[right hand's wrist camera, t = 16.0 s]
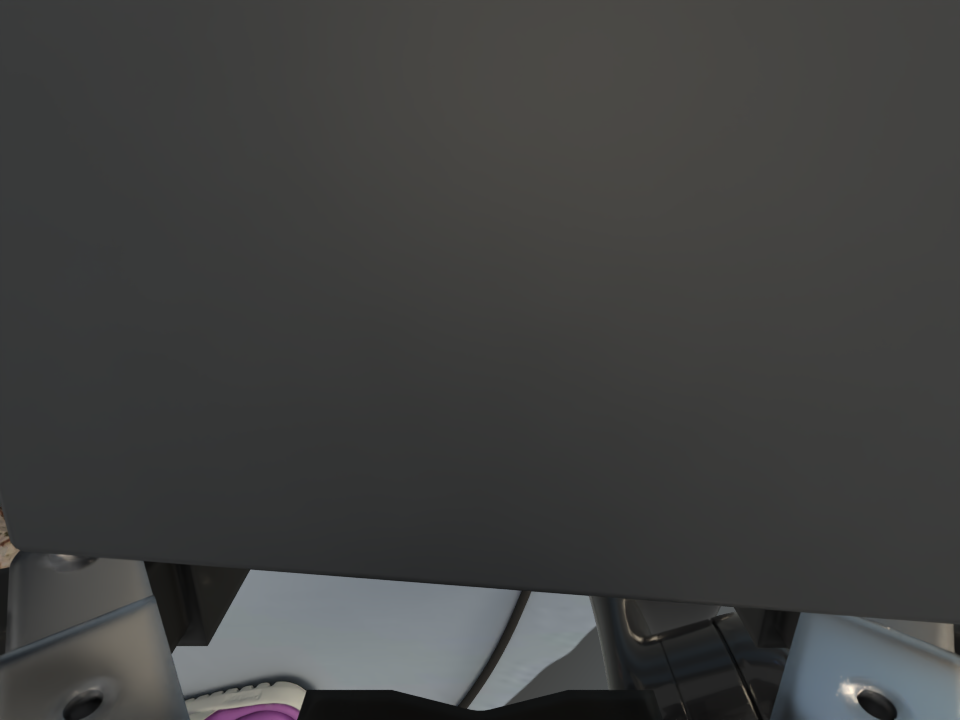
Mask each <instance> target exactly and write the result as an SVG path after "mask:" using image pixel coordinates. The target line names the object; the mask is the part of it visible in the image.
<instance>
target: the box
mask: <svg viewBox="0 0 960 720" xmlns="http://www.w3.org/2000/svg"><path fill="white" fill-rule="evenodd" d="M0 503H1V507H2V511H3V515H4V519H5V523H6V527H7V531H8V535H9V539H10V542H11V543H12V545H13V546H14V547H15V548H16V549H19V550H21V551H23V552H33V553H46V554H59V555H72V556H85V557H97V558H110V559H123V560H136V561H149V562H162V563H175V564H187V565H200V566H213V567H226V568H239V569H252V570H265V571H277V572H290V573H303V574H316V575H329V576H342V577H355V578H367V579H380V580H393V581H406V582H419V583H432V584H445V585H457V586H470V587H483V588H496V589H509V590H522V591H534V592H547V593H560V594H573V595H586V596H599V597H612V598H624V599H637V600H650V601H663V602H676V603H689V604H702V605H714V606H727V607H740V608H753V609H766V610H779V611H792V612H804V613H817V614H830V615H843V616H856V617H869V618H882V619H894V620H907V621H920V622H933V623H946V624H959V625H960V0H0Z"/></svg>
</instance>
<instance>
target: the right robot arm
mask: <svg viewBox="0 0 960 720" xmlns="http://www.w3.org/2000/svg"><path fill="white" fill-rule="evenodd" d="M249 571H250V569H239V568H226V567H213V566H200V565H187V564H175V563H162V562H149V561H136V560H123V559H110V558H97V557H85V556H72V555H59V554H46V553H33V552H23V551H21V550H20V551H19V552H18V553H17V554H16V556H15V557H14V558H13V560H12V562H11V564H10V567H7V568H2V569H0V720H190V718H189V714H188V711H187V707H186V704H185V700H184V697H183V693H182V690H181V686H180V683H179V679H178V676H177V672H176V669H175V665H174V662H173V658H172V655H171V654H172V653H173V651H174V649H175V648H176V646H208V644H209V643H210V641H211V639H212V637H213V635H214V634H215V632H216V630H217V628H218V626H219V625H220V623H221V621H222V619H223V618H224V616H225V614H226V612H227V610H228V609H229V607H230V605H231V603H232V601H233V600H234V598H235V596H236V594H237V592H238V591H239V589H240V587H241V585H242V583H243V582H244V580H245V578H246V576H247V574H248V573H249ZM530 593H531V591H522V592H521V594H520V597H519V599H518V602H517V604H516V606H515V609H514V611H513V613H512V616H511V618H510V620H509V622H508V625H507V627H506V629H505V631H504V633H503V635H502V637H501V639H500V641H499V643H498V645H497V647H496V649H495V651H494V653H493V654H492V656H491V658H490V660H489V662H488V663H487V665H486V667H485V668H484V670H483V672H482V673H481V675H480V676H479V678H478V679H477V681H476V682H475V684H474V685H473V687H472V688H471V690H470V691H469V692H468V694H467V695H466V696H465V698H464V699H463V700H462V702H461V703H460V704H459V706H454V705H450V704H446V703H442V702H438V701H434V700H430V699H426V698H422V697H418V696H414V695H410V694H406V693H402V692H398V691H394V690H307V691H306V694H305V697H304V700H303V703H302V706H301V709H300V712H299V715H298V718H297V720H960V625H959V624H946V623H933V622H920V621H907V620H894V619H882V618H869V617H856V616H843V615H830V614H817V613H804V612H792V611H779V610H766V609H753V608H740V607H734V608H735V610H736V612H732V613H727V614H723V615H719V616H716V615H717V613H718V612H719V609H720V607H721V606H714V605H702V604H689V603H676V602H663V601H650V600H637V599H624V598H612V597H599V596H589V598H590V602H591V606H592V609H593V613H594V617H595V622H596V626H597V630H598V634H599V639H600V644H601V649H602V654H603V659H604V665H605V671H606V677H607V683H608V689H609V690H566V691H563V692H558V693H554V694H550V695H546V696H542V697H538V698H534V699H530V700H527V701H523V702H519V703H514V704H511V705H506V706H502V707H498V708H494V709H490V710H485V711H475V710H470V709H467V708H468V706H469V705H470V704H471V702H472V701H473V700H474V698H475V697H476V695H477V694H478V693H479V691H480V690H481V688H482V687H483V685H484V684H485V682H486V681H487V679H488V678H489V676H490V674H491V673H492V671H493V670H494V668H495V666H496V664H497V663H498V661H499V659H500V657H501V656H502V654H503V652H504V650H505V648H506V646H507V644H508V642H509V640H510V639H511V636H512V634H513V632H514V630H515V628H516V626H517V624H518V621H519V619H520V617H521V615H522V612H523V610H524V608H525V605H526V603H527V601H528V598H529V596H530Z"/></svg>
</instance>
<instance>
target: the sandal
mask: <svg viewBox="0 0 960 720" xmlns="http://www.w3.org/2000/svg"><path fill="white" fill-rule="evenodd" d="M305 694H306V690H304V689H303V688H302V687H300V686H298V685H296V684H294V683H290V682H276V683H275V684H274V685H273V686H270V684H269V683H261V684H259V685H258V686H257V687H256V688H254V687H253V686H245V687H243V688H242V689H241V690H240V691H239V689H237V688H234V689H229V690H227V691H226V692H225V693H224V692H223V691H219V692H215V693H213V694H211V695H203V696H200V697H198V698H197V699H194V698H192V699H189V700H186V701H185V704H186V707H187V711H188V714H189V718H190V720H297V718H298V715H299V712H300V709H301V706H302V703H303V700H304V697H305Z"/></svg>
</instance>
